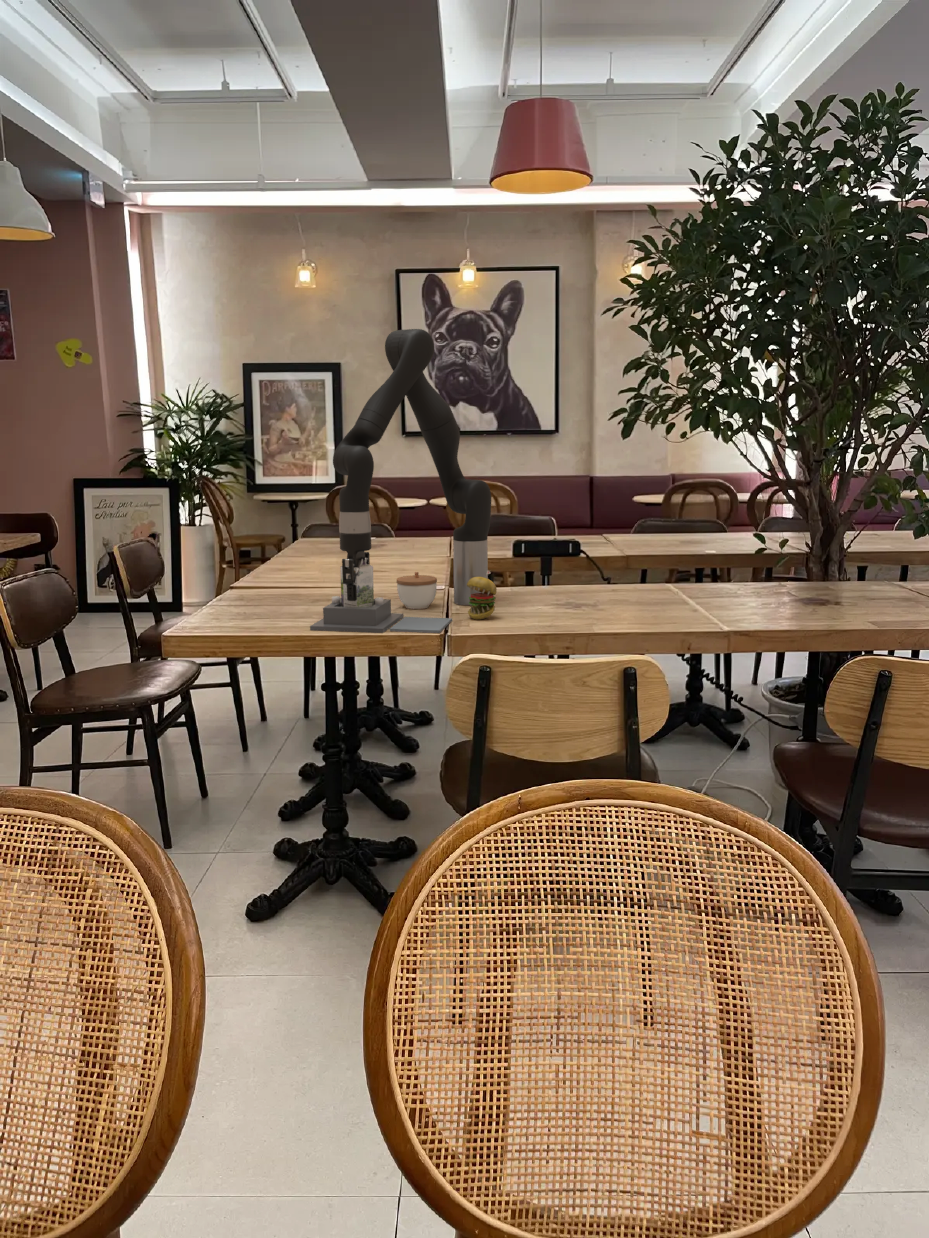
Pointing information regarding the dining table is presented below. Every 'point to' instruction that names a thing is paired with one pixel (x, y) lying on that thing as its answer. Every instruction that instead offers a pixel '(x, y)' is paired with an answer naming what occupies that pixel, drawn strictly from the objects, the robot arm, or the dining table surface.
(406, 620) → the mat
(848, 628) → the dining table surface
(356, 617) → the holder
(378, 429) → the robot arm
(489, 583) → the hamburger
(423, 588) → the lidded jar
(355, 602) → the syrup box
